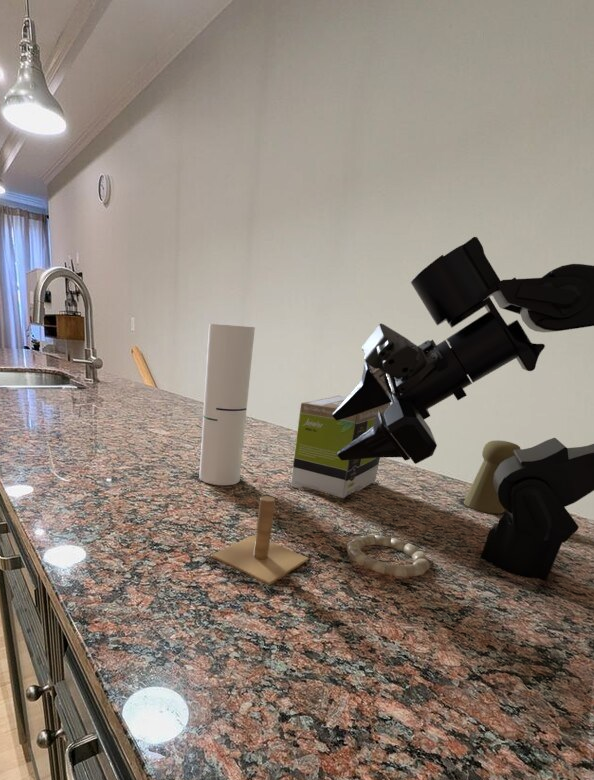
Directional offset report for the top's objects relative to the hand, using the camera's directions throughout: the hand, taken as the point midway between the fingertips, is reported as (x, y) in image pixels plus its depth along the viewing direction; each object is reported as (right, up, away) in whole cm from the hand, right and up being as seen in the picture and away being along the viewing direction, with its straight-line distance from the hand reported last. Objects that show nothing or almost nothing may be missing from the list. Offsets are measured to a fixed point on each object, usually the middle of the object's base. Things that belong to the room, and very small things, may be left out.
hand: (336, 436), depth 58 cm
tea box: (+6, -5, +22) cm, 23 cm away
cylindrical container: (-15, -4, +21) cm, 26 cm away
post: (-11, -16, -7) cm, 20 cm away
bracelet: (+5, -15, -5) cm, 16 cm away
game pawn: (+29, -9, +17) cm, 35 cm away
